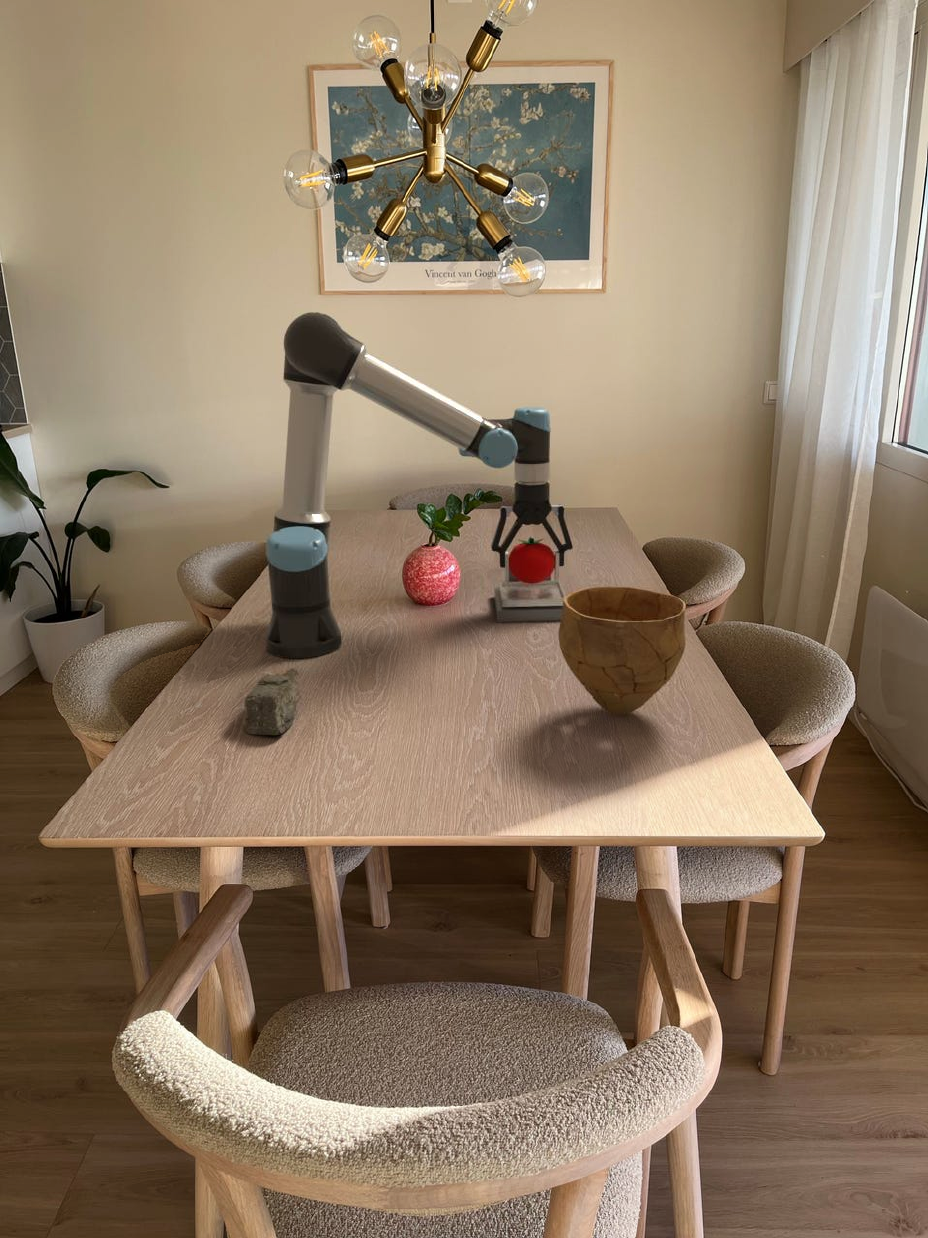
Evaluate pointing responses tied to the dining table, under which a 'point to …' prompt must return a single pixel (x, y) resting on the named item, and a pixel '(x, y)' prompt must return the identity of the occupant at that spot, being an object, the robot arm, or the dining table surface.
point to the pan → (531, 594)
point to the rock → (272, 704)
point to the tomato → (531, 561)
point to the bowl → (622, 643)
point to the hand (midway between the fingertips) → (531, 580)
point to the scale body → (525, 609)
